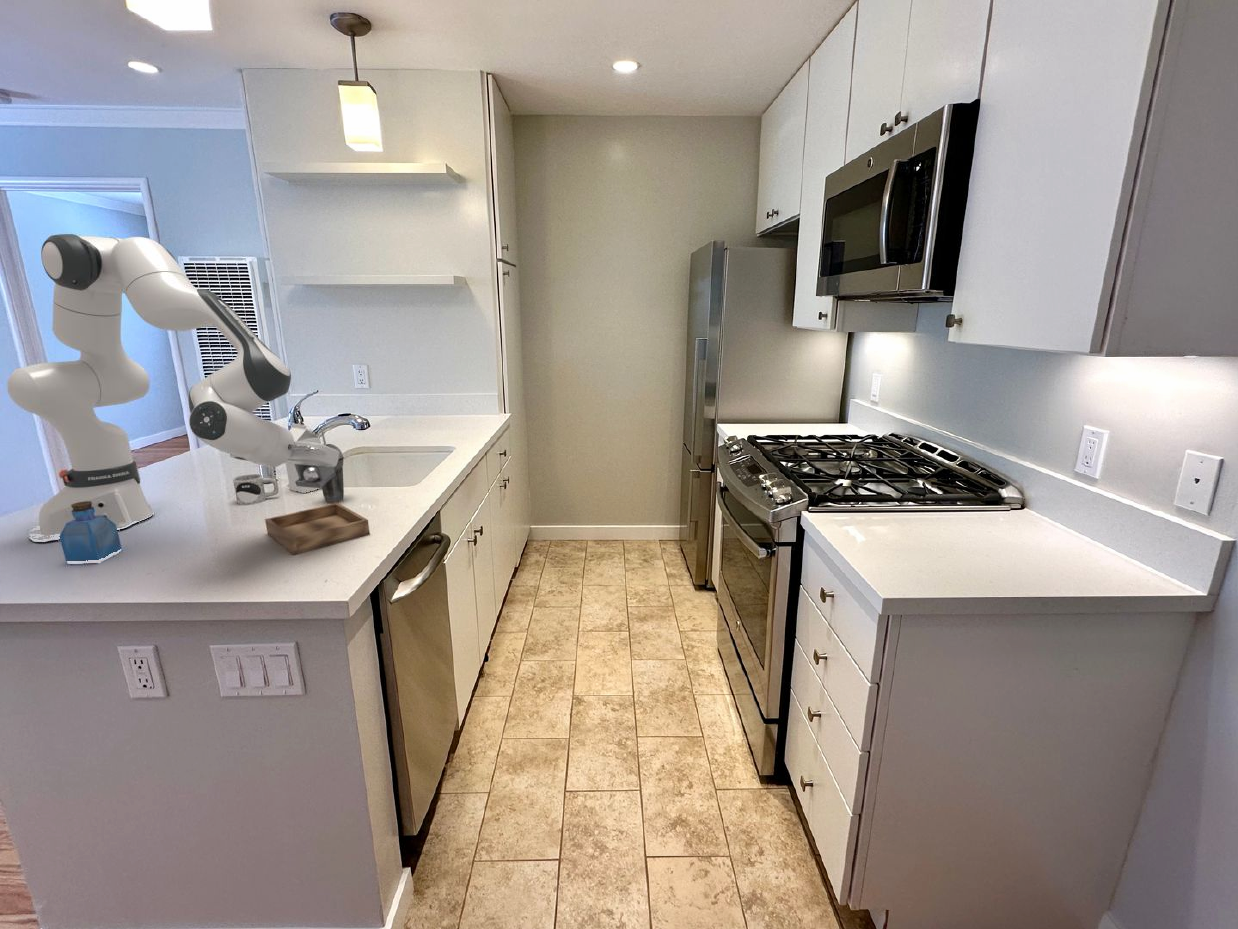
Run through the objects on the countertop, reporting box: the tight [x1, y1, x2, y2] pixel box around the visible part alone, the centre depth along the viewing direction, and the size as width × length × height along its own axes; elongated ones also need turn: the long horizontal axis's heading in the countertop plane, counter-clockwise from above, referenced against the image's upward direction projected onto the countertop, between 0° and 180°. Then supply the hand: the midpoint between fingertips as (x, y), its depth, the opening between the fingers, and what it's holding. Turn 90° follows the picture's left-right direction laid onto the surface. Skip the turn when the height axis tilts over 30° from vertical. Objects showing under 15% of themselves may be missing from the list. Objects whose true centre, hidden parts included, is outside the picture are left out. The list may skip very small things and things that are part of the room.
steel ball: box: [303, 467, 320, 482], centre depth 131 cm, size 4×4×4 cm
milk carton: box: [285, 422, 322, 494], centre depth 164 cm, size 7×7×19 cm
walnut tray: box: [264, 502, 371, 556], centre depth 131 cm, size 16×18×4 cm
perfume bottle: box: [59, 501, 123, 562], centre depth 118 cm, size 6×6×12 cm
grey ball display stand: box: [294, 443, 336, 488], centre depth 131 cm, size 6×6×8 cm
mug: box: [232, 473, 279, 506], centre depth 156 cm, size 10×7×7 cm
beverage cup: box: [320, 428, 345, 504], centre depth 153 cm, size 7×7×20 cm
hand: (312, 462), depth 132 cm, fingers closed on grey ball display stand, 6 cm apart
